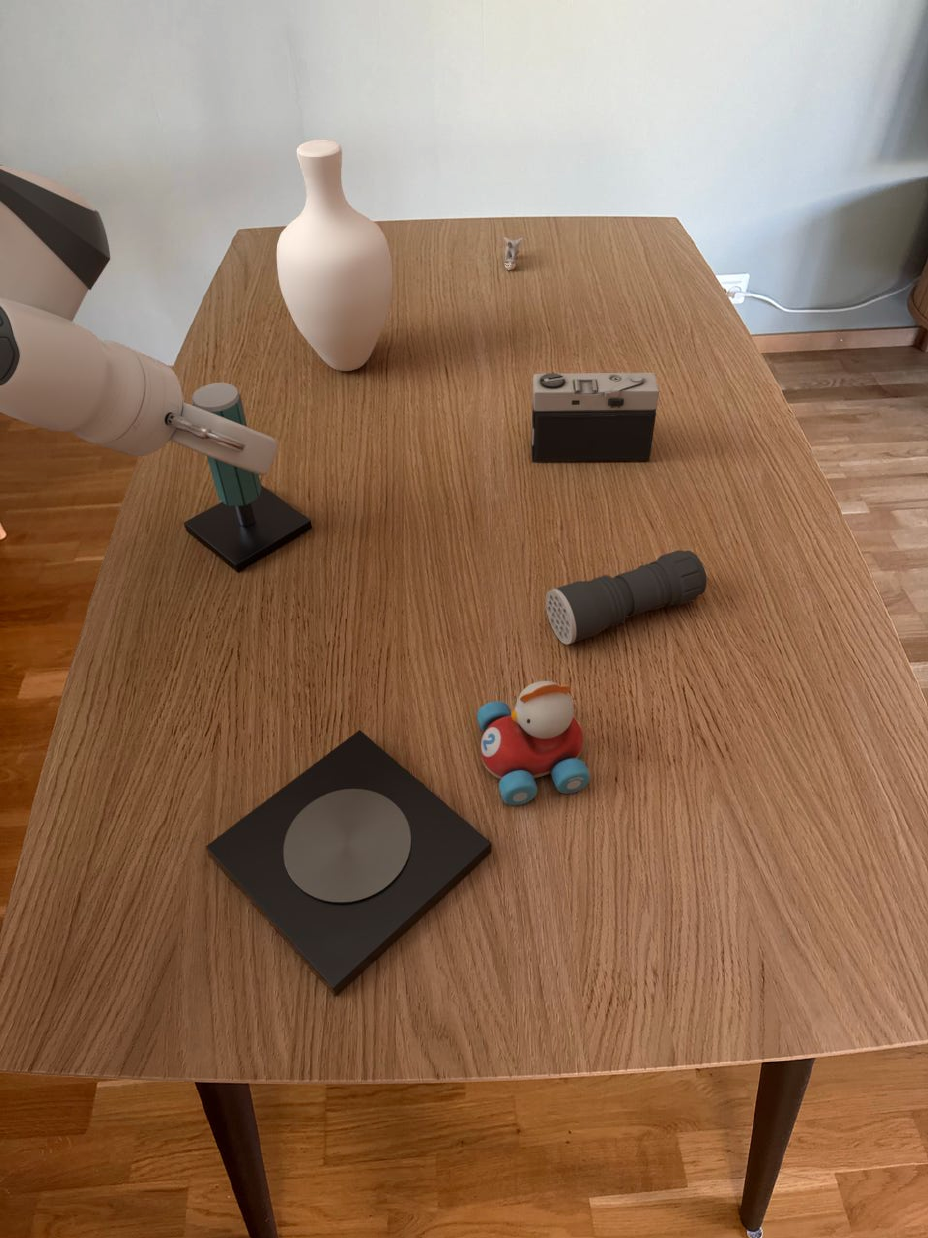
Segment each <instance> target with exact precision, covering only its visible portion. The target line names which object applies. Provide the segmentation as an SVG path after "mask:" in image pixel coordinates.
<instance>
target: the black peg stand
mask: <svg viewBox="0 0 928 1238" xmlns="http://www.w3.org/2000/svg"><path fill="white" fill-rule="evenodd" d="M183 526H184V528H185V531H186V533H188V534H189V535H191V537H193V538H194V539H195V540H197V541H198V542H199V543H201V545H203V546H204V547H205V548H207V550H209V551H210V552H211V553H212V554H214V555H215V556H216V557H218V558H219V559H220V560H221V561H223V562H224V563H225V564H226V565H227V566H229V567H230V568H231V569H233V571H235V572H236V573H237V574H239V573H240V572H242V571H244V570H246V569H247V568H249V567H250V566H252V565H254V564H256V563H257V562H259V561H260V560H262V559H264V558H265V557H267V556H269V555H271V554H272V553H274V552H276V551H277V550H280V549H281V548H282V547H284V546H285V545H287V544H289V543H290V542H293V541H295V540H296V539H297V538H299V537H302V536H303V535H304V534H306V533H308V532H309V531H311V530H312V529H313V523H312V520H311V519H310V518H309V517H307V516H306V515H304V514H303V513H302V512H300V511H299V510H298V509H296V508H294V507H293V506H291V504H289V503H288V502H287V501H284V500H283V499H282V498H280V496H278V495H277V494H275V493H274V492H272V491H271V490H270V489H267V487H265V486H264V485H262V484H261V492H260V496H259V497H258V499H256V500H254V501H252V502H251V503H249V504H247V505H245V504H244V505H243V506H229V505H226V504H225V503H223V502H222V501H221V502H219V503H217V504H215V505H213V506H211V507H209V508H207V509H206V510H205V511H202V512H201V513H199V514H197V515H195V516H194V517H192V518H189V519H188V520H186V521H184V522H183Z"/></svg>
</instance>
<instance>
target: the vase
mask: <svg viewBox="0 0 928 1238" xmlns="http://www.w3.org/2000/svg"><path fill="white" fill-rule="evenodd" d="M296 158H297V161H298V163H299V167H300V170H301V173H302V177H303V180H304V184H305V192H306V196H305V197H306V198H305V204H304V208H303V210H302V211H301V213H300V214H299V215H298V216H297V217H296V218H294V219H293V220H292V221H291V222H290V223H288V225H287V226H286V227H285V228H284V229H283V230H282V231H281V232H280V234H279V237H278V241H277V245H276V267H277V278H278V283H279V289H280V291H281V294H282V297H283V300H284V303H285V305H286V308H287V311H288V313H289V315H290V317H291V318H292V320H293V322H294V324H295V326H296V328H297V329H298V331H299V332H300V335H302V336H303V338H304V339H305V341H306V342H307V343H308V344H309V345H310V346H311V348H312V349H313V350H314V352H316V353H317V355H318V356H319V357H320V358H321V360H322V361H323V362H324V363H325V364H326V365H327V366H329V367H330V368H332V369H334V370H336V371H341V372H352V371H355V370H358V369H361V367H363V366H364V365H366V363H367V362H368V360H369V358H370V357H371V356H372V353H373V351H374V349H375V347H376V345H377V343H378V341H379V338H380V337H381V334H382V332H383V329H384V327H385V325H386V322H387V319H388V316H389V311H390V307H391V299H392V292H393V283H394V280H393V279H394V278H393V277H394V274H393V264H392V257H391V253H390V248H389V243H388V241H387V238H386V236H385V234H384V232H383V231H382V229H381V227H380V226H379V225H378V224H377V223H376V222H374V221H373V220H371V219H370V218H369V217H367V216H366V215H364V214H363V213H361V212H359V211H358V210H356V209H355V208H354V207H352V206H351V205H350V204H349V202H348V200H347V198H346V195H345V192H344V189H343V181H342V166H343V165H342V164H343V150H342V145H341V144H339V143H338V142H337V141H335V140H330V139H314V140H309V141H305V142H303V143H301V144H299V145H298V147H297V149H296Z"/></svg>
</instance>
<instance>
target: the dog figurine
mask: <svg viewBox="0 0 928 1238" xmlns="http://www.w3.org/2000/svg"><path fill="white" fill-rule="evenodd" d="M502 238H503V240H504V242H505V243H506V247H505V250H504V259H505V260H504V261H503V262H504V268H505V269H506V270H507V271H513V270H514V269H515V268H516V267H517V266H516V265H517V264H516V260H515V259H517V256H518V254H519V253H520V250H519V249H520V248H519V246H520V243H521V242H522V241H523V240H524V237H520V238H518V239H514V240H512V239H510V238H508V237H506V236H502ZM514 260H515V261H514ZM505 264H506V265H509V266H506V265H505ZM514 264H515V265H514ZM510 265H514V266H510Z"/></svg>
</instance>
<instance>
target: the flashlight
mask: <svg viewBox="0 0 928 1238" xmlns="http://www.w3.org/2000/svg"><path fill="white" fill-rule="evenodd" d="M707 584H708V580H707V572H706V570H705V566H704V565H703V563H702V561H701V559H700V558H699V556H698V555H697V554H696V553H695V552H693V551H691V550H682V549H681V550H674V551H672V552H669V553H666V554H661V555H660V556H659V557H658V558H657V559H656V560H653V561H651V562H650V563H646V564H644V565H640V566H638V567H637V568H635V569H633V570H629V571H626V572H623V573H620V574H617V575H615V576H613V577H612V576H610V575H608V574H603V575H602V576H598V577H594V578H592V579H591V580H578V581H574V582H570V583H568V584H565V585H561V586H559V587H555V588H552V589H549V590H548V591H547V593H546V596H545V610H546V615H547V618H548V621H549V624H550V626H551V629H552V631H553V634H555V636H556V638H557V639H558V640H559V641H560V642H561V643H562V644H564V645H567V646H568V645H570V644H573V643H574V644H575V643H576V642H577V643H578V642H579V641H582V640H585V639H589V638H591V637H594V636H596V635H599V634H600V633H601V632H602V631H604V630H605V629H607V628H608V629H610V628H613V627H616V626H617V625H622V624H623V623H624V622H625V620H626V617H628V618H631V617H633V616H636V615H639V614H642V613H645V612H648V611H656V610H658V609H661V608H663V607H669V606H681V605H684V604H688V603H690V602H693V601H696V600H697V599H698V598H699V597H700V596H701V595H703V594H704V593H705V591H706V589H707Z"/></svg>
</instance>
